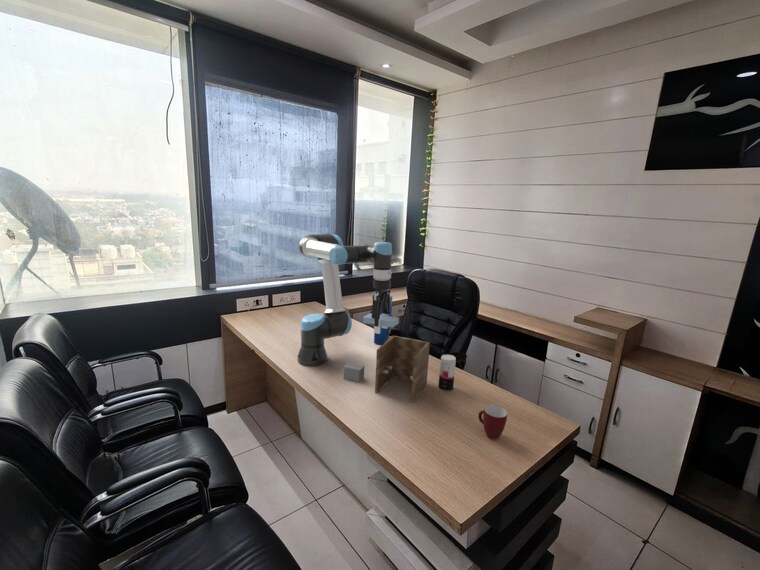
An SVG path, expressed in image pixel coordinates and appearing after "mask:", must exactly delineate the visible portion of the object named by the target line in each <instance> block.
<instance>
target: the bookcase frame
mask: <svg viewBox="0 0 760 570" xmlns="http://www.w3.org/2000/svg"><path fill="white" fill-rule="evenodd" d="M430 344H431V343H430V342H429V341H423V340H420V339H415V338H409V337H404V336H398V335H391V336H390V338H388V339H387V340H386V341H385V343H384V344H381V345H380V346H379V347H378V348H377V349H376V359H375V360H376V361H375V378H374V379H375V380H374V381H375V382H374V393H375V394H379V392H380V391H381V390H382V389H383V388H384V386H385V385H386V384H387V383H388V382H389V381H390V380H391V379H392V377H394V378H398V379H403V380H408V381H412V387H411V399H410V400H411V403H413V404H414V403H415V402H416V401H417V399H418V397H419V396H420V395H421V393H422V391H423V390H424V388H425V387H426V385H427V382H428V369H429V359H430V358H429V356H430Z"/></svg>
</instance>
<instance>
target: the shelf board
mask: <svg viewBox="0 0 760 570" xmlns="http://www.w3.org/2000/svg"><path fill="white" fill-rule="evenodd" d="M380 319H381V325H380V326H386V327H391V329H392V328H394V327H395V326H397V325H398V324H400V317H397V316H392V315H391V316H385V315H380ZM363 323H364V324H367V325H368V324H369V325H374V318H372V312H370V313H368V314H366V315H364V316H362V324H363Z"/></svg>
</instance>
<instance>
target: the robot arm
mask: <svg viewBox="0 0 760 570" xmlns="http://www.w3.org/2000/svg"><path fill="white" fill-rule="evenodd" d="M392 247H393V245H392V243H391V242H387V241H386V242H385V241H376V242H374V244H373V245H372V244H371V245H370V244H367V243H365V244H364V243H363V244H359V245H344V242H343V240H342V238H341V237H340V236H339V235H337V234H331V233H323V234H321V233H319V234H315V233H313V234H308V235H305V236H303V237H302V238H301V239H300V240H299V243H298V250H299V252H300V254H302V256H304V257H307V258H317V261H318V262H319V263H320V265H321V273H322V279H323V290H324V298H325V299H324V300H325V307H326V308H325V309H324V312H323V313H324V314H323V313H311V314H308V315H305V316H304V317H302V319H301V322H300V340H301V341H300V347H299V348H300V349H299V351H298V354H297V362H298V363H299V364H300V365H303V366H309V367H314V366H320V365H323V364H325V363H326V362H327V361H328V353H327V350H326V347H325V340H328V339H331V338H337V337H341V336H344V335H348V334H349V333H350V331H351V329H352V326H353V325H352V324H353V322H352V317H351V315H350V313H349V312H347V309H346V308H345V307H344V306H343V297H342V287H341V281H340V279H341V278H340V270H339V265H340V266H342V265H345V264H346V265H349V264H362V263H371V264H373V270H372V271H373V273H372V278H373V280H372V285H373V286H372V288H374V289H375V294H373V295H372V296H371V297H372V305H371V307H372V308H371V313H372V318H374V324H373V333H377V334H380V325H381V319H380V313H381V307H382V312H383V313H384V314H383V313H382V315H385V316H388V314H390V312H389V311H390V296H391V288H392V280H391V279H392V274H393V272H392V263H393V262H392V261H393V260H392V259H393V258H392V257H393V248H392ZM381 328H385V329H387V327H386V326H381Z"/></svg>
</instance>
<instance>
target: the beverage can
mask: <svg viewBox="0 0 760 570" xmlns="http://www.w3.org/2000/svg"><path fill="white" fill-rule="evenodd" d="M456 362H457V359H456V357H455V356H454V355H452V354H442V355H441V357H440V365H439V378H438V379H439V380H438V388H439V390H441V391H443V392H452V391H453V390H454V384H455V383H454V382H455V372H456Z"/></svg>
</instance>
